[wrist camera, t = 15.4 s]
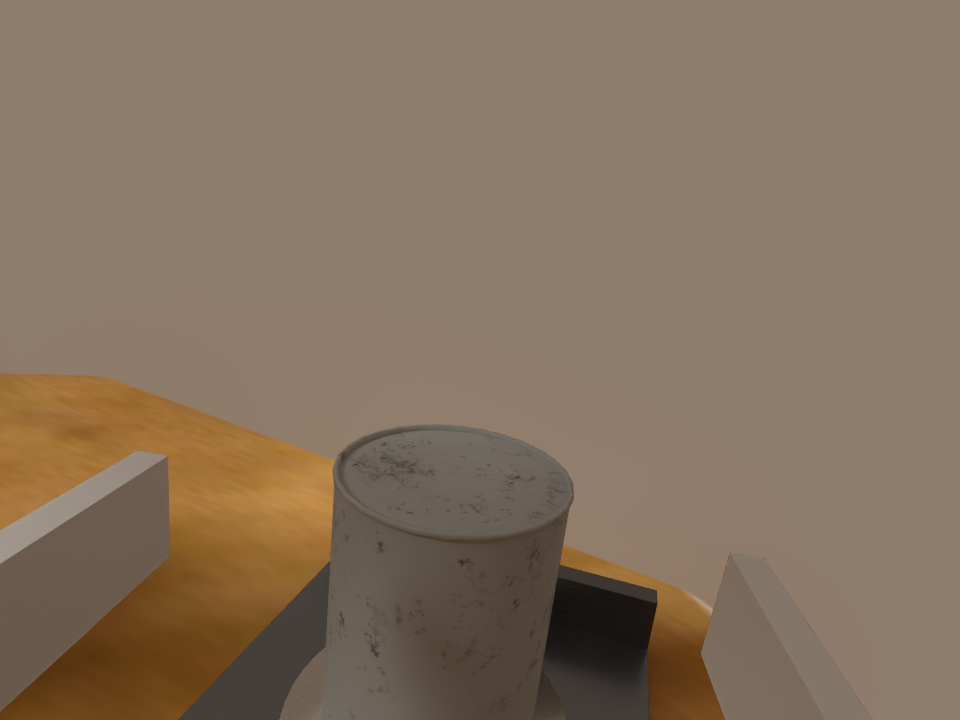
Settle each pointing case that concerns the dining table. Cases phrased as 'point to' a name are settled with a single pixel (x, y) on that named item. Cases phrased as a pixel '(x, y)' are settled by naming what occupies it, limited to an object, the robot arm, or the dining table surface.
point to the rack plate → (564, 675)
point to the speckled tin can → (441, 575)
